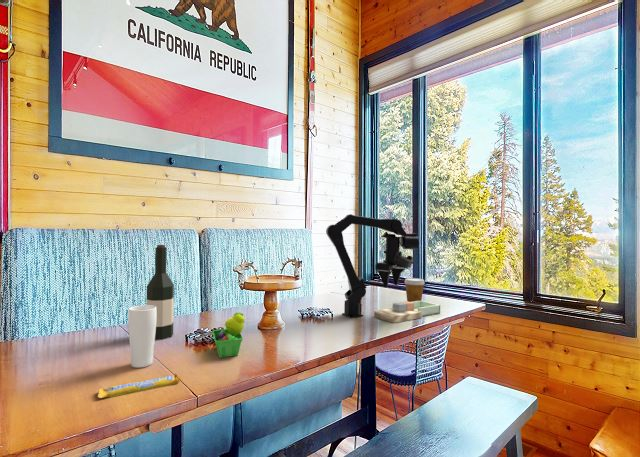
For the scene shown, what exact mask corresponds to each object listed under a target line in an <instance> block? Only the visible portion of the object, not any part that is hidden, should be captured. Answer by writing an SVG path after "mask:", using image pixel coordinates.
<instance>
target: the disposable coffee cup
mask: <svg viewBox="0 0 640 457" xmlns="http://www.w3.org/2000/svg"><path fill="white" fill-rule="evenodd" d="M425 283H426V282H425V280H424V279H422V278H416V277H409V278H408V277H407V278H405V279H404V284H405V292H406V293H405V294H406V301H408V302H414V301H423V300H422V299H423V292H424V285H425Z"/></svg>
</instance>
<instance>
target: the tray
mask: <svg viewBox="0 0 640 457" xmlns="http://www.w3.org/2000/svg"><path fill="white" fill-rule="evenodd" d="M412 303H414V310H416V311H420V312H422V317H426V316H432V315H439V314H440V313H441V304H437V303H433V302H429V301H425V300H421V301H414V302H412Z"/></svg>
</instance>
